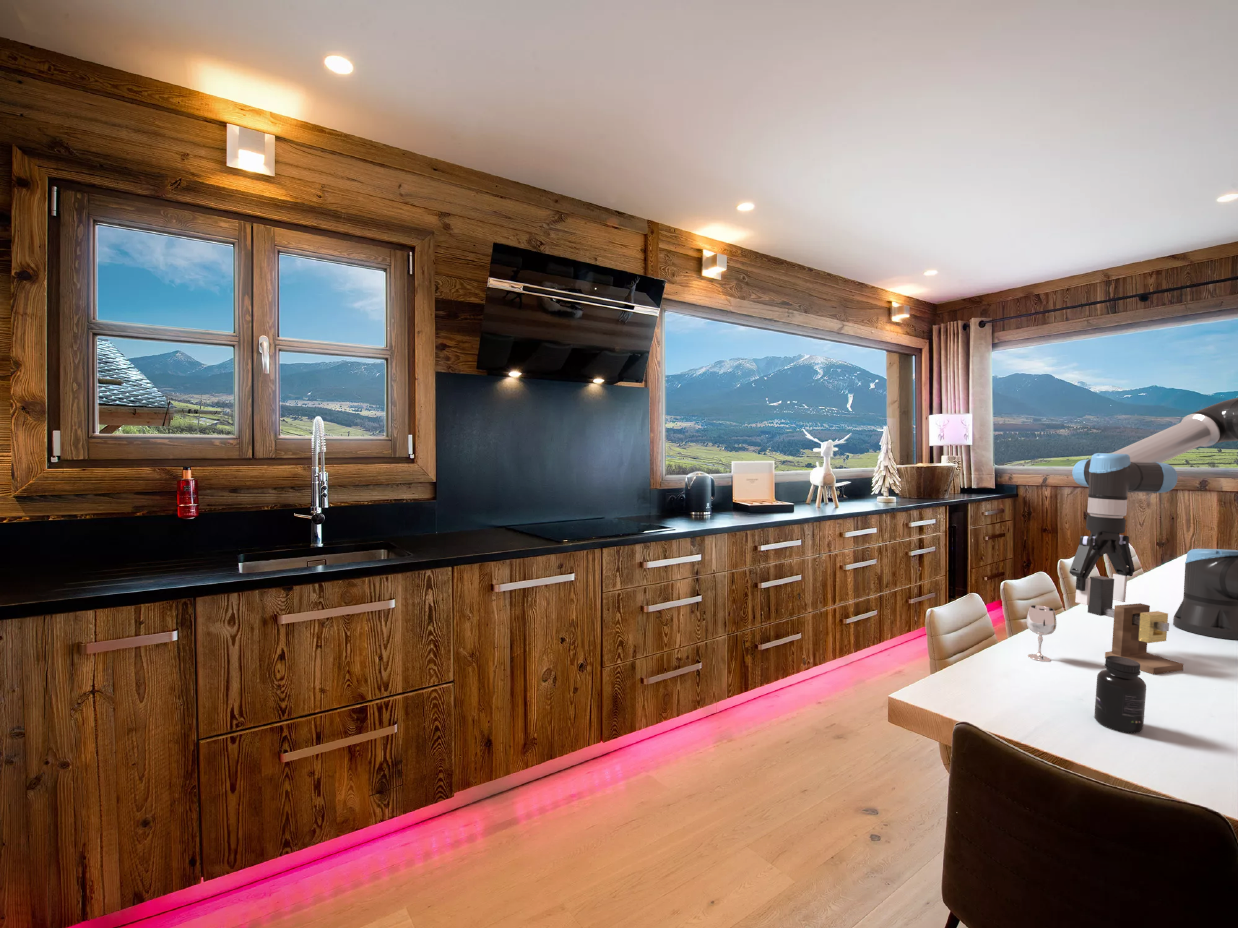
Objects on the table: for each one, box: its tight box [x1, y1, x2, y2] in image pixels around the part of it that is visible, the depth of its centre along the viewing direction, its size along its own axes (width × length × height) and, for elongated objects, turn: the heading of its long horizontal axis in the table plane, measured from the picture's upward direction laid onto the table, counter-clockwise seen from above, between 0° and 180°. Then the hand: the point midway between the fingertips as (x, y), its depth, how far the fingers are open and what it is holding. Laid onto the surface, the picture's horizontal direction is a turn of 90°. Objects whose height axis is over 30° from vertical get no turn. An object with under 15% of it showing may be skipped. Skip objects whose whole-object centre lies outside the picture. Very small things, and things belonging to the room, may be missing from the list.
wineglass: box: [1026, 604, 1058, 662], centre depth 141 cm, size 6×6×12 cm
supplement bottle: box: [1093, 656, 1147, 734], centre depth 107 cm, size 7×7×12 cm
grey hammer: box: [1087, 575, 1170, 632], centre depth 142 cm, size 16×4×9 cm, turn 18°
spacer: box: [1139, 610, 1169, 644], centre depth 137 cm, size 2×6×6 cm, turn 108°
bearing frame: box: [1104, 603, 1184, 676], centre depth 139 cm, size 10×10×13 cm
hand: (1100, 602), depth 148 cm, fingers open, 12 cm apart
